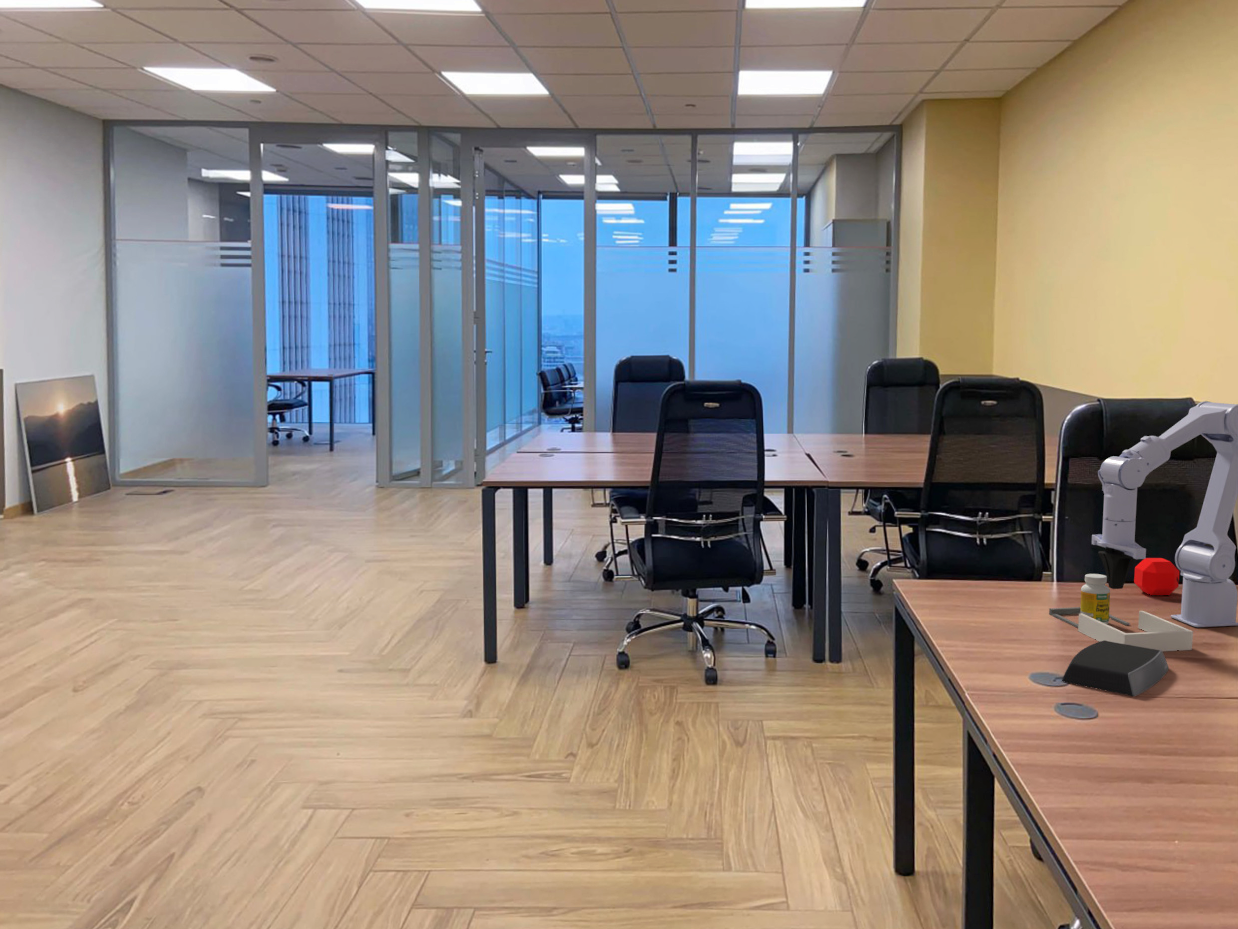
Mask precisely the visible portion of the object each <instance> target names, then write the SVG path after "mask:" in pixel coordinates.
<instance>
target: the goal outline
mask: <svg viewBox="0 0 1238 929" xmlns="http://www.w3.org/2000/svg"><path fill="white" fill-rule="evenodd" d="M1048 609H1049V610H1048V611H1049V612H1048V614H1049V615H1050V616H1052V617H1054V618H1056V619H1059V620H1060V621H1063V622H1065V623H1066V624H1068V625H1071V626H1073V627H1075V628H1077V629H1078V623H1076V622H1075V621H1072V620H1070V619H1068V618H1067V617H1064V616H1065V615H1079V614H1080V611H1081V606H1075V607H1053V608H1048ZM1062 615H1063V616H1062ZM1110 618H1111V620H1112V621H1115V622H1118V623H1119V622H1120V623H1119V624H1122V625H1124V626H1130V622H1127V621H1125V620H1123V619H1121V618H1119V617H1116V616H1114V615H1112V614H1110V613H1109V619H1110Z"/></svg>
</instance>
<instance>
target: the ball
mask: <svg viewBox="0 0 1238 929" xmlns="http://www.w3.org/2000/svg"><path fill="white" fill-rule="evenodd" d="M1179 582H1180V570H1179V569H1178V567H1177V566H1176V565H1175V564H1173V563H1172V562H1171V561H1170V560H1168V559H1166V558H1162V557H1146V559H1141V561H1140V562H1139V563H1137V565H1135V567H1134V578H1133V583H1134V584H1135V585H1136V586H1137V587H1138V588H1139V589H1140V590H1141V591H1142V592H1143V593H1145V594H1147V595H1149V594H1150V595H1149V596H1151V595H1169V596H1170V595H1171V594H1172V593H1173V592H1175V590H1177V589H1178V588H1179Z"/></svg>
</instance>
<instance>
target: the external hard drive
mask: <svg viewBox="0 0 1238 929" xmlns="http://www.w3.org/2000/svg"><path fill="white" fill-rule="evenodd" d="M1168 671H1169V664H1168V662H1167V659H1166V657H1165V654H1164V651H1161V650H1156V649H1149V648H1144V647H1138V646H1132V645H1126V644H1121V643H1115V642H1110V641H1106V640H1105V641H1100V642H1099V641H1096V642H1095V643H1092V644H1090V645H1088V646H1086V647H1084V648H1082V649H1081V650H1080V651H1079V652H1077V654H1075V655H1074V657H1073V658H1072V659H1071V661H1070V663H1069V665H1068V666H1067V668H1066V670H1065V672H1064V675H1063V676H1062V679H1061V682H1062V681H1065V682H1064V683H1066V682H1068V683H1067V684H1071V683H1072V685H1076V684H1077V686H1080V685H1082V686H1081V687H1085V686H1087V687H1086V688H1090V687H1092V688H1091V689H1095V688H1097V689H1096V690H1100V689H1101V691H1105V690H1106V692H1109V693H1115V694H1119V695H1125V696H1129V697H1136V696H1139V695H1141V694H1142V693H1144V692H1146V691H1147V690H1149V689H1150V688H1152V687H1153V686H1155V685H1156V684H1157V683H1158V682H1160V681H1161V679H1163V677H1165V675H1166V674H1167V673H1168Z"/></svg>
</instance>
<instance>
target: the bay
mask: <svg viewBox="0 0 1238 929" xmlns="http://www.w3.org/2000/svg"><path fill="white" fill-rule="evenodd" d="M1077 624H1078V628H1077V632H1080V633H1081V634H1083V635H1085V636H1087V637H1089V638H1090V639H1091V638H1092V639H1093V640H1095V639H1096V642H1100V641H1105V640H1106V641H1110V642H1115V643H1121V644H1126V645H1132V646H1138V647H1144V648H1149V649H1156V650H1161V651H1162V652H1175V651H1176V652H1177V650H1179V651H1193V639H1194V638H1193V636H1194V631H1193V630H1190V629H1188V628H1186V627H1183V626H1181V625H1179V624H1176V623H1174V622H1172V621H1168V620H1166V619H1164V618H1161V617H1160V616H1157V615H1154V614H1152V613H1149V612H1147V611H1146V610H1145V611H1144V610H1139V611H1138V623H1137V625H1138V627H1137V628H1138V629H1140V630H1141V629H1142V631H1143V630H1144V631H1143V632H1125V631H1121V630H1119V629H1117V628H1115V627H1114V626H1111V625H1109V624H1105V623H1102V622H1100V621H1098V620H1096V619H1094V618H1091V617H1089V616H1087V615H1085V614H1078V623H1077Z"/></svg>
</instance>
